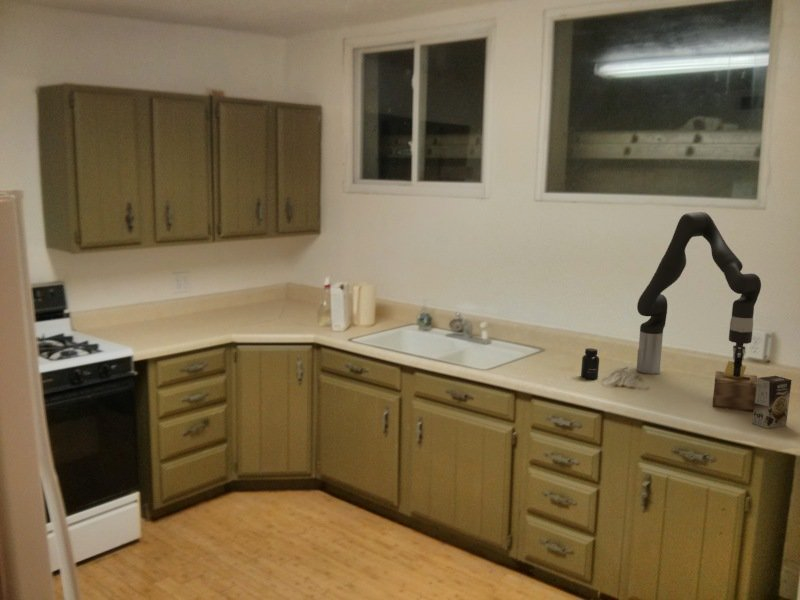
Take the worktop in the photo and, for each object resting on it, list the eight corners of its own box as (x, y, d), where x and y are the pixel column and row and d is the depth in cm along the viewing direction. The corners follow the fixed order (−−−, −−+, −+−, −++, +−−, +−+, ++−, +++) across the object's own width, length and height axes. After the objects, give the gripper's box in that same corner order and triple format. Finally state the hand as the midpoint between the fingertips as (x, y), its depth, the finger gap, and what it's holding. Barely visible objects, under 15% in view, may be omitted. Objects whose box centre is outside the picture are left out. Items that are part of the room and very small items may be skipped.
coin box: (712, 406, 266) (715, 379, 264) (713, 397, 276) (715, 371, 275) (755, 412, 260) (758, 384, 258) (754, 402, 271) (757, 375, 269)
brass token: (722, 377, 267) (728, 361, 266) (722, 375, 269) (728, 360, 268) (740, 382, 265) (746, 367, 263) (740, 381, 267) (745, 366, 266)
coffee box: (767, 429, 243) (773, 382, 240) (751, 423, 249) (756, 377, 246) (787, 425, 247) (792, 379, 244) (771, 419, 252) (775, 374, 250)
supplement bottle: (591, 381, 296) (593, 352, 294) (577, 377, 301) (579, 349, 299) (601, 378, 300) (603, 349, 298) (587, 374, 305) (589, 346, 303)
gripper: (729, 324, 271) (725, 369, 274) (729, 331, 259) (725, 378, 262) (752, 326, 268) (747, 372, 271) (753, 333, 256) (748, 381, 259)
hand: (736, 375), depth 266 cm, fingers closed on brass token, 2 cm apart
